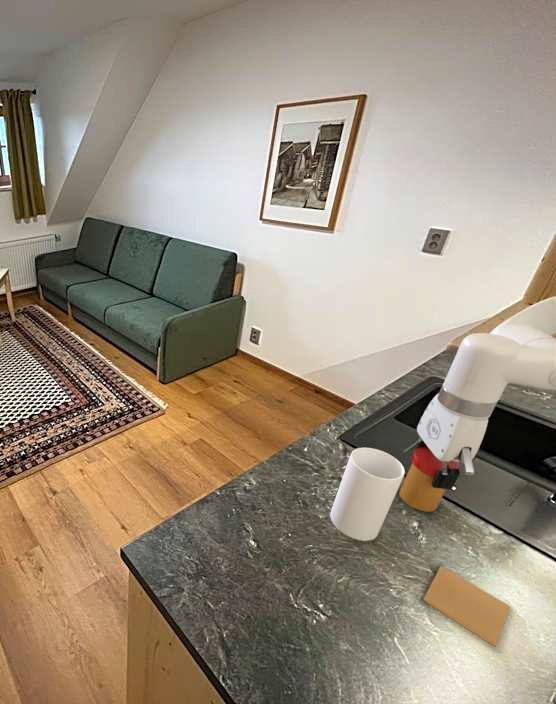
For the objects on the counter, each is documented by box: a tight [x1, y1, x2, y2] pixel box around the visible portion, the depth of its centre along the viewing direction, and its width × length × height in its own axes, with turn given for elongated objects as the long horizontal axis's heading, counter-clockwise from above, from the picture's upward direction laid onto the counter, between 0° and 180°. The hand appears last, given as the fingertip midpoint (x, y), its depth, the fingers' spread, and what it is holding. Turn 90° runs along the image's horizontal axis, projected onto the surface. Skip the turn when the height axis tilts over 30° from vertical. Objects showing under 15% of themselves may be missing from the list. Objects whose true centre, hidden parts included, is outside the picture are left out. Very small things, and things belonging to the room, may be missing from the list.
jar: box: [398, 462, 448, 513], centre depth 81 cm, size 6×6×11 cm
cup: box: [329, 447, 406, 542], centre depth 76 cm, size 8×8×16 cm
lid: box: [411, 447, 456, 477], centre depth 79 cm, size 7×7×2 cm
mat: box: [422, 565, 511, 648], centre depth 65 cm, size 9×9×1 cm
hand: (430, 472), depth 80 cm, fingers closed on lid, 7 cm apart
